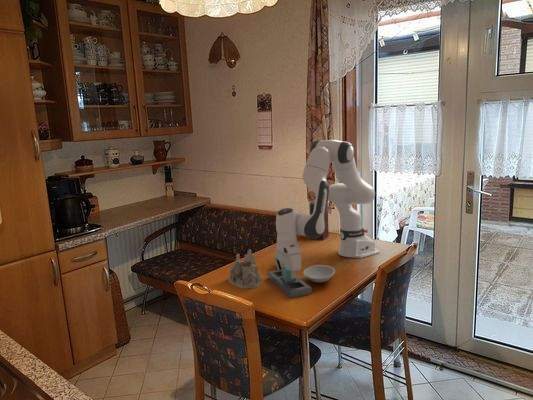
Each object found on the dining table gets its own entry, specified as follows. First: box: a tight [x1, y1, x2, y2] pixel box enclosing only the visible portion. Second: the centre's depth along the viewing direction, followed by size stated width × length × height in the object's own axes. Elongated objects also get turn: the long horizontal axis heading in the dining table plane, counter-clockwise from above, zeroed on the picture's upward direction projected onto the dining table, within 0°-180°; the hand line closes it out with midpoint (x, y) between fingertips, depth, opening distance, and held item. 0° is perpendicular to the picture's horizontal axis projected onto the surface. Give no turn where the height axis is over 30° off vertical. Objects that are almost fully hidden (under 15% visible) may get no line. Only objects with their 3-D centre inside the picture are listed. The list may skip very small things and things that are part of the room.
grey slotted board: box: [267, 269, 312, 299], centre depth 188 cm, size 10×26×3 cm, turn 21°
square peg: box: [281, 267, 295, 283], centre depth 188 cm, size 4×4×8 cm
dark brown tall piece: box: [308, 199, 330, 241], centre depth 259 cm, size 9×11×28 cm
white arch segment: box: [274, 254, 287, 270], centre depth 215 cm, size 17×5×10 cm, turn 152°
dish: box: [302, 264, 336, 283], centre depth 191 cm, size 18×14×5 cm
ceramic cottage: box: [227, 248, 262, 290], centre depth 194 cm, size 16×16×15 cm
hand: (288, 274), depth 188 cm, fingers open, 8 cm apart
